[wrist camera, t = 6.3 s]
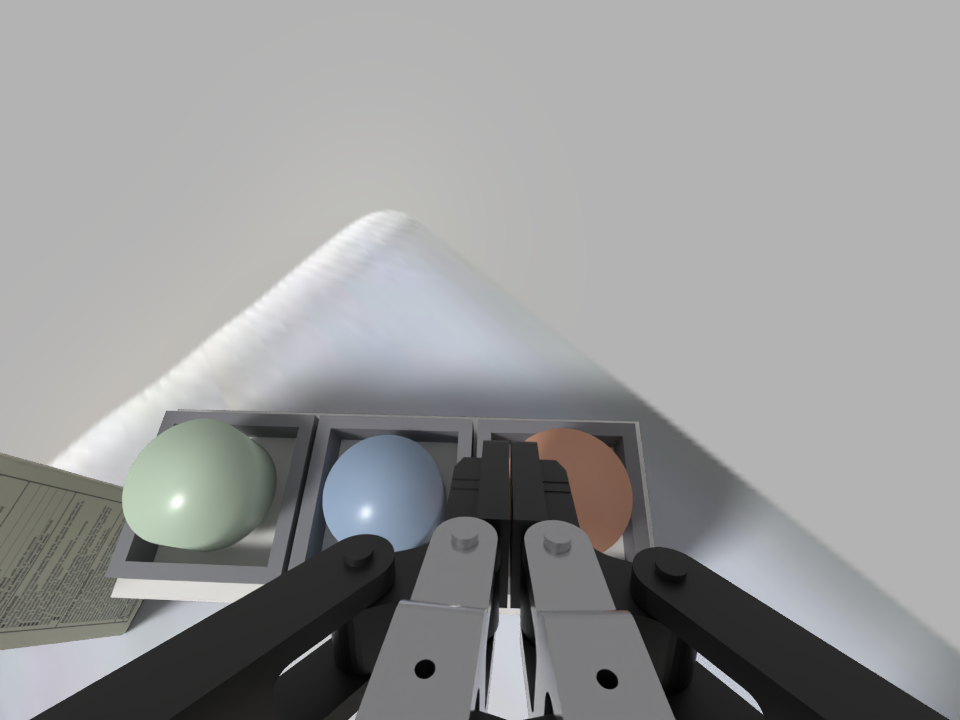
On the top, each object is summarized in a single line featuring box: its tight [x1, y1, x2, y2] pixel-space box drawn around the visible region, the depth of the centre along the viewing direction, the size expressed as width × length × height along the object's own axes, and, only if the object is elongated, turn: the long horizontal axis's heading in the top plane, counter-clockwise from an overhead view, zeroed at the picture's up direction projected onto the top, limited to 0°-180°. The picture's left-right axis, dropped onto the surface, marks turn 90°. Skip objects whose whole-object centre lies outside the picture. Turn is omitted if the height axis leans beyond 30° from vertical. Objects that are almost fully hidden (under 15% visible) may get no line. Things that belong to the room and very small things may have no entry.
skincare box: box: [0, 453, 143, 650], centre depth 18 cm, size 6×4×12 cm
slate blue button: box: [323, 435, 447, 552], centre depth 16 cm, size 4×4×2 cm
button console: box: [105, 409, 655, 615], centre depth 20 cm, size 19×7×8 cm, turn 88°
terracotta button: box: [509, 428, 633, 553], centre depth 15 cm, size 4×4×2 cm
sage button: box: [122, 419, 277, 552], centre depth 16 cm, size 4×4×2 cm
